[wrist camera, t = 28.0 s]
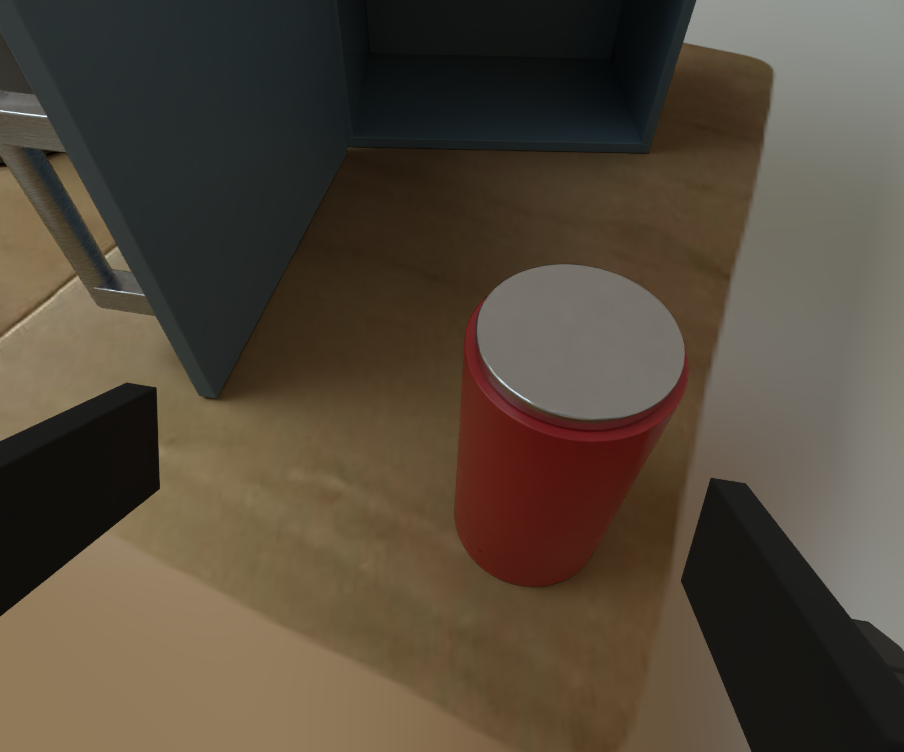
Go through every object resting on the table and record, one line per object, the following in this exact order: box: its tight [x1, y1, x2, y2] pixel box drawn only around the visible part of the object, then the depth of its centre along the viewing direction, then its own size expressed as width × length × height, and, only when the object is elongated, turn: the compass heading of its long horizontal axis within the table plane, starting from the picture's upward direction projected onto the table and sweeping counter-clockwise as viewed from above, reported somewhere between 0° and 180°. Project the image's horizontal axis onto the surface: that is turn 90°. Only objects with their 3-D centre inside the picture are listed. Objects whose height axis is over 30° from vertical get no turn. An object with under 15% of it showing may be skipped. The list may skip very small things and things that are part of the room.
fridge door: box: [0, 0, 348, 398], centre depth 30 cm, size 6×24×19 cm, turn 170°
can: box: [454, 264, 689, 587], centre depth 22 cm, size 7×7×12 cm
